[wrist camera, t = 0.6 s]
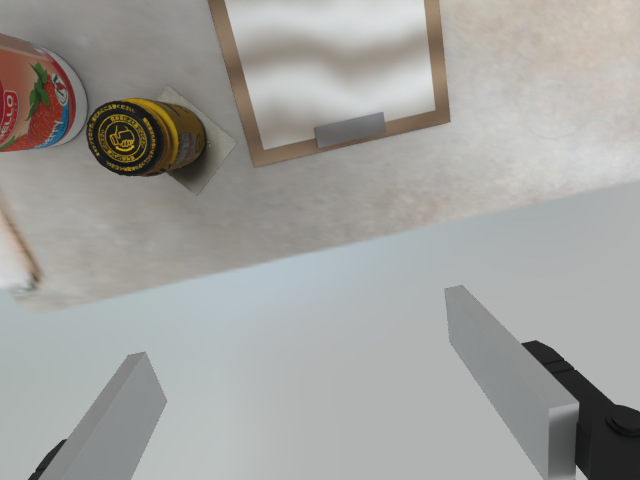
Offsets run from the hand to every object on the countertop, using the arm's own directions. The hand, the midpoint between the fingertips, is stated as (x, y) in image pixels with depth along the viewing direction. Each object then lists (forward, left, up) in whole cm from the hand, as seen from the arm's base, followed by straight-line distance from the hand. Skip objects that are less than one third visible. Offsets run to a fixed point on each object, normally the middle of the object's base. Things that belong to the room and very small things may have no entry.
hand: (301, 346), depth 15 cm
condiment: (-10, -10, -26) cm, 29 cm away
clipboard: (-14, +7, -26) cm, 30 cm away
